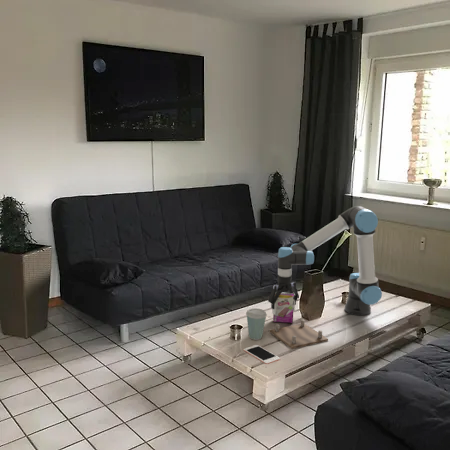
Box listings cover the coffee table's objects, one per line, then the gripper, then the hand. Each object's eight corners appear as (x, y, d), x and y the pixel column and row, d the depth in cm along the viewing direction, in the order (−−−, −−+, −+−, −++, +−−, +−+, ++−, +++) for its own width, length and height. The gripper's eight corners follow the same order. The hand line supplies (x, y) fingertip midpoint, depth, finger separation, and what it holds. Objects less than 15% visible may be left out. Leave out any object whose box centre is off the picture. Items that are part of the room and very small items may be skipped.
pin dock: (303, 325, 278) (304, 317, 277) (328, 341, 258) (328, 332, 257) (269, 332, 268) (269, 323, 267) (292, 348, 249) (292, 340, 248)
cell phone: (266, 365, 233) (266, 363, 233) (242, 350, 247) (242, 348, 247) (280, 359, 238) (280, 358, 238) (256, 346, 252) (256, 344, 252)
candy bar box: (273, 322, 280) (273, 294, 277) (273, 319, 285) (273, 291, 282) (293, 323, 279) (294, 295, 276) (293, 319, 284) (293, 292, 281)
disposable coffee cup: (253, 331, 269) (254, 305, 266) (270, 337, 262) (271, 310, 259) (241, 338, 261) (242, 310, 258) (258, 343, 254) (259, 316, 251)
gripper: (298, 270, 285) (297, 306, 289) (262, 276, 275) (261, 313, 279) (306, 274, 278) (305, 311, 283) (269, 279, 268) (268, 318, 273)
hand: (283, 312), depth 281 cm, fingers closed on candy bar box, 12 cm apart
